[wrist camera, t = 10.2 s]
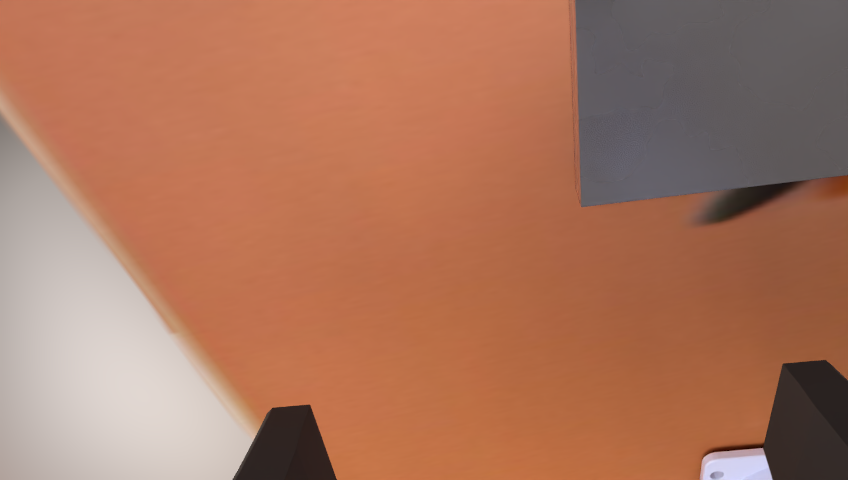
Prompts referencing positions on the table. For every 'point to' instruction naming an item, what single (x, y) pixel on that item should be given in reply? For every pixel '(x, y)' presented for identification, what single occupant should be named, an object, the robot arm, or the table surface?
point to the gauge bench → (706, 95)
